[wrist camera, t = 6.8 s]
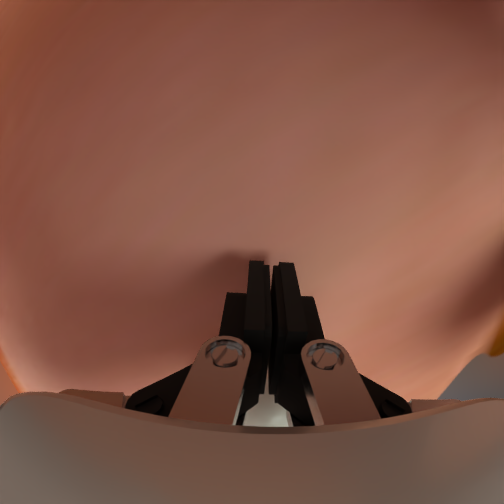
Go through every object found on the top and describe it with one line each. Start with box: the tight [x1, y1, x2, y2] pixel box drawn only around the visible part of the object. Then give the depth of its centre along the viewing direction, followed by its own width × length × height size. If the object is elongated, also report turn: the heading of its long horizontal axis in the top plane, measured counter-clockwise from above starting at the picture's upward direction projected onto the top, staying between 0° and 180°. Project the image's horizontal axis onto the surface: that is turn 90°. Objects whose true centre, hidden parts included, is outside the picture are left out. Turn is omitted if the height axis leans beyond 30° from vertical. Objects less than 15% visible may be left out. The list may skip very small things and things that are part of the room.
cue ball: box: [244, 369, 289, 427], centre depth 12 cm, size 5×5×5 cm
